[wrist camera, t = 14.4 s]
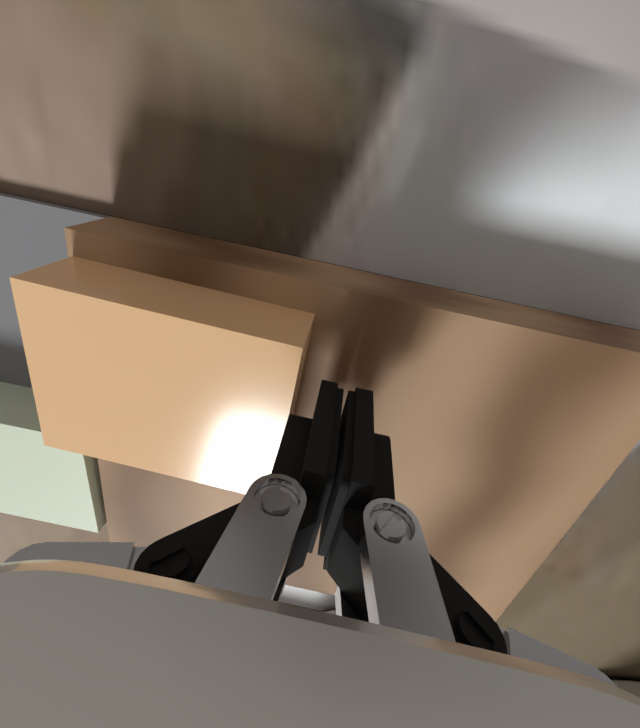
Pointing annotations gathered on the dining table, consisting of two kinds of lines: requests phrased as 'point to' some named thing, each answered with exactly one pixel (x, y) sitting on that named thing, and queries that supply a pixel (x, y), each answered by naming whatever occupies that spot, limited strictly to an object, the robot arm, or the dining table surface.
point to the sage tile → (44, 470)
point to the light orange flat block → (159, 370)
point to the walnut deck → (413, 403)
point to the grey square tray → (27, 265)
